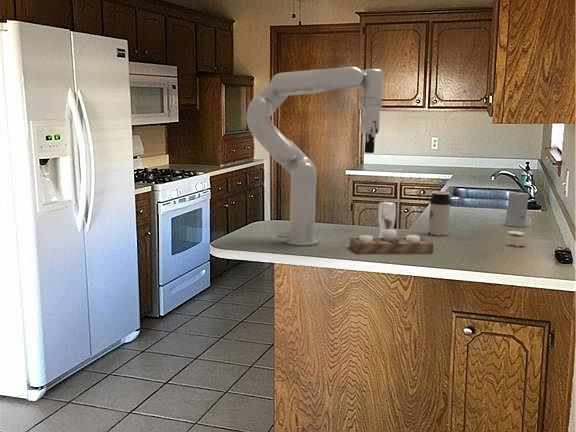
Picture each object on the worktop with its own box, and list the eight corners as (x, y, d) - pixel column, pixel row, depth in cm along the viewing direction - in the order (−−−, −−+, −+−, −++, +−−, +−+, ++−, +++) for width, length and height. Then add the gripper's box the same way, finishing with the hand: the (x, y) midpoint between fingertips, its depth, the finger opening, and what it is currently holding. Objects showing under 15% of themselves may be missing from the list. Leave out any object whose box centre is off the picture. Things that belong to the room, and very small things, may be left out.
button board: (357, 253, 226) (358, 243, 226) (349, 246, 238) (350, 236, 237) (432, 253, 230) (433, 242, 230) (421, 246, 242) (421, 236, 242)
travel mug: (446, 233, 273) (449, 191, 271) (448, 236, 266) (451, 193, 263) (427, 232, 275) (430, 190, 272) (429, 235, 267) (431, 192, 264)
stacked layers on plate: (533, 247, 248) (534, 233, 247) (517, 249, 243) (518, 235, 242) (513, 243, 256) (514, 229, 255) (497, 244, 252) (498, 231, 251)
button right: (408, 247, 235) (408, 237, 234) (403, 244, 239) (404, 234, 239) (421, 247, 235) (421, 237, 235) (416, 244, 240) (417, 234, 240)
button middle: (384, 241, 233) (385, 231, 232) (381, 239, 238) (381, 229, 237) (398, 241, 234) (398, 231, 233) (393, 239, 238) (394, 229, 238)
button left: (360, 247, 232) (361, 237, 231) (357, 245, 237) (357, 235, 236) (374, 247, 233) (374, 237, 232) (370, 245, 238) (370, 235, 237)
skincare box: (505, 226, 297) (507, 192, 295) (507, 224, 304) (510, 191, 301) (524, 227, 293) (527, 193, 291) (526, 225, 300) (529, 192, 297)
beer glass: (381, 242, 249) (383, 204, 247) (374, 238, 256) (376, 201, 254) (397, 241, 251) (399, 204, 249) (390, 238, 258) (392, 201, 255)
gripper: (356, 103, 242) (354, 151, 244) (367, 102, 227) (364, 153, 230) (375, 103, 243) (373, 152, 246) (387, 103, 228) (384, 154, 231)
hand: (369, 152), depth 238 cm, fingers closed
